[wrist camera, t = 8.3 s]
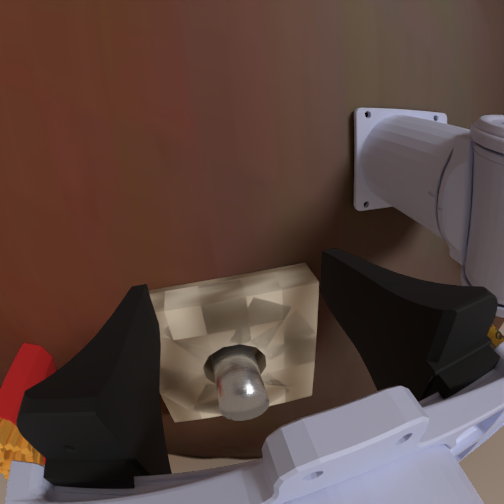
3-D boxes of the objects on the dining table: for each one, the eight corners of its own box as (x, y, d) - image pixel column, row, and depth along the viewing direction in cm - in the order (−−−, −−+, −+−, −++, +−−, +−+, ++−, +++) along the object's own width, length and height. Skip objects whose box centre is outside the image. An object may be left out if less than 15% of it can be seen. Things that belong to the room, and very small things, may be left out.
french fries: (64, 396, 27) (48, 499, 16) (31, 389, 26) (8, 487, 15) (48, 336, 24) (11, 458, 12) (11, 329, 22) (-36, 440, 11)
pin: (241, 323, 26) (260, 385, 20) (255, 350, 28) (275, 410, 22) (202, 338, 26) (212, 402, 20) (219, 364, 28) (231, 425, 22)
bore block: (305, 262, 25) (319, 282, 23) (302, 374, 32) (311, 395, 29) (131, 293, 23) (126, 316, 21) (173, 399, 30) (174, 422, 27)
